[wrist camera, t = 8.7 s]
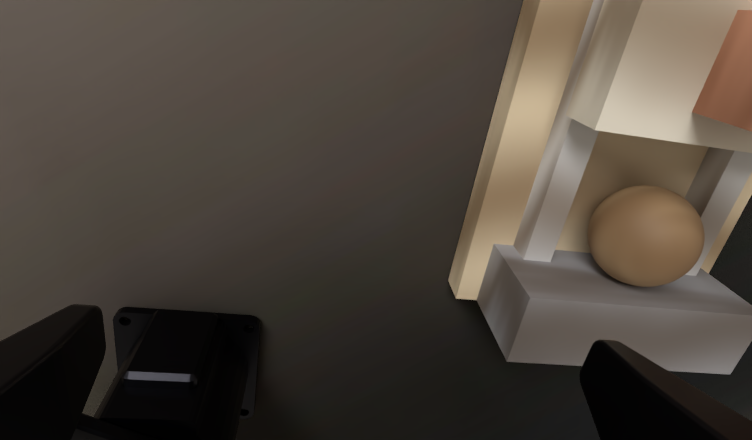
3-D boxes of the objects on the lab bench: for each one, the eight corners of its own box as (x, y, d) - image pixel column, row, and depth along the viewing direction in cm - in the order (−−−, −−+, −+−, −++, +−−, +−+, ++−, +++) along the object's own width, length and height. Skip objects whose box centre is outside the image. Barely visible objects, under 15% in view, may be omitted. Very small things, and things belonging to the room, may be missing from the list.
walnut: (637, 257, 21) (700, 311, 18) (557, 249, 21) (605, 303, 17) (674, 176, 20) (752, 217, 16) (589, 165, 19) (650, 205, 15)
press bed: (665, 298, 25) (750, 375, 20) (448, 280, 23) (482, 360, 18) (947, -251, 15) (1242, -364, 10) (620, -360, 13) (791, -562, 8)
